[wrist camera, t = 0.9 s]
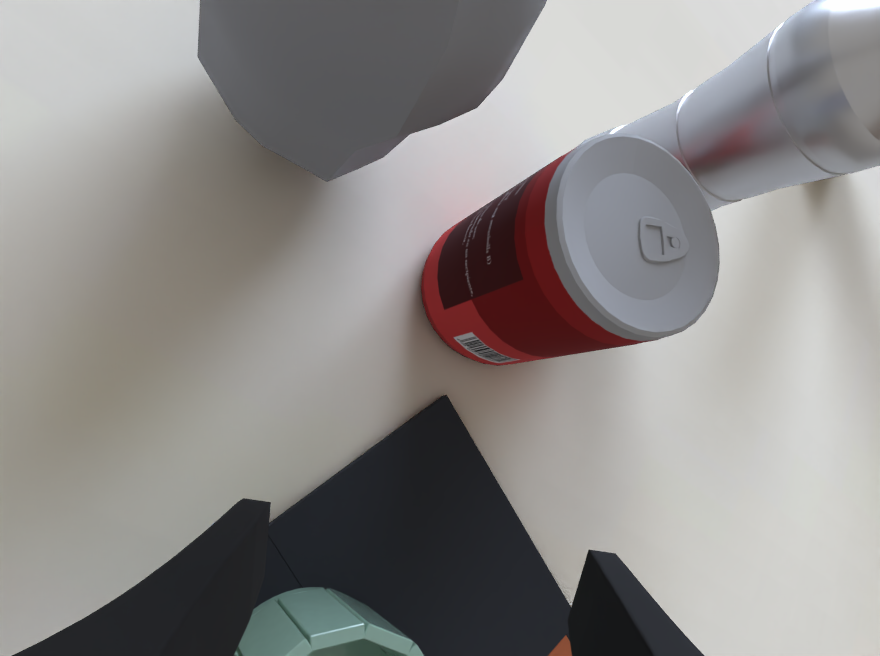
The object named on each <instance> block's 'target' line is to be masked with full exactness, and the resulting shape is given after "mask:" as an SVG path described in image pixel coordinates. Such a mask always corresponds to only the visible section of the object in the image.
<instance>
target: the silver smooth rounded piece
mask: <svg viewBox="0 0 880 656" xmlns="http://www.w3.org/2000/svg"><path fill="white" fill-rule="evenodd" d="M614 133H626V134H633V135H638V136H640V137H643V138H645V139H648V140H651V141H653V142H654V143H656V144H658V145H659V146H661V147H663V148H664V149H666V150H667V151H668V152H669V153H671V154H672V155H673V156H674V157H675V158H676V159H677V160H679V161H680V162H681V164H682V165H683V166H684V167H685V168H686V169H687V171H688V172H689V173H690V174H691V175H692V177H693V178H694V180H695V181H696V183H697V185H698V186H699V188H700V189H701V191H702V193H703V195H704V197H705V199H706V201H707V203H708V206H709V208H710V210H711V211H713V210H715V209H717V208H719V207H721V206H724V205H728V204H731V203H734V202H737V201H741V200H742V199H747V198H750V197H754V196H757V195H760V194H764V193H767V192H770V191H773V190H777V189H780V188H784V187H789V186H794V185H798V184H803V183H808V182H812V181H817V180H822V179H827V178H831V177H836V176H841V175H845V174H848V173H850V174H851V173H855V172H858V171H862V170H865V169H869V168H872V167H876V166H880V0H815V1H812V2H811V3H809V4H808V5H807V6H805V7H804V8H802V9H801V10H799V11H798V12H796V13H795V14H794V15H792V16H791V17H789V18H788V19H787V20H786V21H785V22H784V23H782V24H781V25H779V26H778V27H777V28H776V29H774V30H773V31H772V32H771V33H769V34H768V35H767V36H766V37H764V38H763V39H762V40H761V41H759V42H758V43H757V44H756V45H754V46H753V47H752V48H750V49H749V50H748V51H747V52H745V53H744V54H743V55H742V56H740V57H739V58H738V59H737V60H735V61H734V62H733V63H732V64H730V65H729V66H728V67H726V68H725V69H723V70H722V71H720V72H719V73H717V74H716V75H714V76H713V77H711V78H710V79H708V80H707V81H705V82H704V83H702V84H701V85H699V86H698V87H697V88H696V89H695V90H693V91H691V92H689V93H687V94H686V95H684V96H683V97H681V98H680V99H678V100H677V101H675V102H674V103H672V104H670V105H668V106H666V107H663V108H661V109H659V110H657V111H655V112H653V113H651V114H649V115H647V116H645V117H642V118H640V119H638V120H636V121H634V122H632V123H630V124H628V125H625V126H620V127H616V128H613V129H610V130H607V131H605V132H603V133H600V134H598V135H595V136H593V137H591V138H589V139H586V140H584V141H583V142H582V143H581V144H584V143H586V142H589V141H590V140H592V139H595V138H598V137H600V136H603V135H605V134H614ZM581 144H580V145H581Z"/></svg>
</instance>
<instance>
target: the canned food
mask: <svg viewBox="0 0 880 656" xmlns="http://www.w3.org/2000/svg"><path fill="white" fill-rule="evenodd" d="M719 264H720V263H719V243H718V237H717V231H716V226H715V223H714V220H713V217H712V214H711V210H710V208H709V206H708V203H707V201H706V199H705V197H704V195H703V193H702V191H701V189H700V188H699V186H698V185H697V183H696V181H695V180H694V178H693V177H692V175H691V174H690V173H689V172H688V171H687V169H686V168H685V167H684V166H683V165H682V164H681V162H680V161H679V160H677V159H676V158H675V157H674V156H673V155H672V154H671V153H669V152H668V151H667V150H666V149H664V148H663V147H661V146H659V145H658V144H656V143H654V142H653V141H651V140H648V139H645V138H643V137H640V136H638V135H633V134H626V133H614V134H605V135H603V136H600V137H598V138H595V139H592V140H590V141H589V142H586V143H584V144H581V145H579V146H578V147H576V148H575V149H573V150H571V151H570V152H568V153H567V154H565V155H563V156H561V157H559V158H558V159H556V160H555V161H553V162H552V163H550V164H548V165H547V166H545V167H544V168H542V169H541V170H539V171H538V172H536V173H535V174H533V175H531V176H530V177H528V178H527V179H525V180H524V181H522V182H521V183H519V184H518V185H516V186H514V187H513V188H511V189H510V190H508V191H507V192H505V193H504V194H502V195H501V196H499V197H497V198H496V199H494V200H493V201H491V202H490V203H488V204H487V205H485V206H484V207H482V208H480V209H479V210H477V211H476V212H474V213H473V214H471V215H470V216H468V217H467V218H465V219H463V220H462V221H460V222H459V223H457V224H456V225H454V226H453V227H452V228H450V229H449V230H447V231H446V232H445V233H444V234H443V235H442V236H441V237H440V238H439V239H438V241H437V242H436V243H435V245H434V246H433V248H432V250H431V252H430V254H429V256H428V258H427V260H426V263H425V266H424V270H423V273H422V284H421V291H422V300H423V305H424V308H425V311H426V314H427V317H428V319H429V321H430V323H431V325H432V327H433V329H434V330H435V331H436V333H437V334H438V335H439V336H440V338H441V339H442V340H443V341H444V342H445V343H446V344H447V345H448V346H450V347H451V348H452V349H453V350H455V351H456V352H458V353H460V354H461V355H463V356H465V357H467V358H470V359H472V360H475V361H478V362H481V363H484V364H491V365H508V364H515V363H522V362H528V361H534V360H540V359H547V358H553V357H559V356H565V355H571V354H578V353H584V352H590V351H596V350H603V349H609V348H615V347H621V346H627V345H634V344H638V343H642V342H648V341H654V340H658V339H661V338H664V337H667V336H671V335H674V334H676V333H679V332H682V331H684V330H685V329H687V328H688V327H690V326H691V325H692V324H694V323H695V322H696V321H697V320H698V319H699V318H700V316H701V315H702V314H703V313H704V312H705V310H706V308H707V307H708V305H709V303H710V301H711V299H712V297H713V294H714V291H715V287H716V284H717V280H718V272H719Z"/></svg>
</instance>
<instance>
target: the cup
mask: <svg viewBox="0 0 880 656" xmlns="http://www.w3.org/2000/svg"><path fill="white" fill-rule="evenodd" d="M234 656H424V655H423V653H422V651H421V650H420V648H419V647H418V645H417V644H416V643H415V642H413V641H412V640H411V639H410V638H409V637H407V636H406V635H405V634H403V633H402V632H401V631H400V630H398V629H397V628H396V627H394V626H393V625H392V624H391V623H389V622H388V621H387V620H385V619H384V618H383V617H382V616H380V615H379V614H378V613H376V612H375V611H374V610H373V609H371V608H370V607H369V606H367V605H366V604H365V603H363V602H360V601H358V600H355V599H354V598H352V597H350V596H348V595H347V594H345V593H343V592H340V591H336V590H333V589H329V588H322V587H307V588H299V589H295V590H291V591H287V592H284V593H282V594H279V595H277V596H274V597H272V598H271V599H269V600H267V601H265V602H263V603H262V604H260V605H259V606H257V607H256V608H255V609H253V612H252V615H251V618H250V621H249V623H248V625H247V628H246V630H245V632H244V634H243V636H242V638H241V641H240V643H239V645H238V647H237V649H236V651H235V654H234Z"/></svg>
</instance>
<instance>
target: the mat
mask: <svg viewBox="0 0 880 656" xmlns="http://www.w3.org/2000/svg"><path fill="white" fill-rule="evenodd" d="M307 587H322V588H329V589H333V590H336V591H340V592H343V593H345V594H347V595H348V596H350V597H352V598H354V599H355V600H358V601H360V602H363V603H365V604H366V605H367V606H369V607H370V608H371V609H373V610H374V611H375V612H376V613H378V614H379V615H380V616H382V617H383V618H384V619H385V620H387V621H388V622H389V623H391V624H392V625H393V626H394V627H396V628H397V629H398V630H400V631H401V632H402V633H403V634H405V635H406V636H407V637H409V638H410V639H411V640H412V641H413V642H415V643H416V644H417V645H418V647H419V648H420V650H421V651H422V653H423V655H424V656H572V652H571V645H570V637H569V628H568V617H569V614H570V610H571V607H570V605H569V603H568V601H567V600H566V598H565V596H564V595H563V593H562V591H561V590H560V588H559V586H558V584H557V583H556V581H555V579H554V578H553V576H552V574H551V572H550V571H549V569H548V567H547V566H546V564H545V562H544V561H543V559H542V557H541V555H540V554H539V552H538V550H537V549H536V547H535V545H534V543H533V542H532V540H531V538H530V537H529V535H528V533H527V532H526V530H525V528H524V526H523V525H522V523H521V521H520V520H519V518H518V516H517V514H516V513H515V511H514V509H513V508H512V506H511V504H510V503H509V501H508V499H507V497H506V496H505V494H504V492H503V491H502V489H501V487H500V485H499V484H498V482H497V480H496V479H495V477H494V475H493V474H492V472H491V470H490V468H489V467H488V465H487V463H486V462H485V460H484V458H483V456H482V455H481V453H480V451H479V450H478V448H477V446H476V445H475V443H474V441H473V439H472V438H471V436H470V434H469V433H468V431H467V429H466V427H465V426H464V424H463V422H462V421H461V419H460V417H459V416H458V414H457V412H456V410H455V409H454V407H453V405H452V404H451V402H450V400H449V398H448V397H447V395H444V396H442V397H440V398H439V399H438V400H436V401H435V402H433V403H432V404H431V405H429V406H428V407H427V408H425V409H424V410H423V411H421V412H420V413H418V414H417V415H416V416H414V417H413V418H412V419H410V420H409V421H408V422H406V423H405V424H403V425H402V426H401V427H399V428H398V429H397V430H395V431H394V432H393V433H391V434H390V435H389V436H387V437H386V438H384V439H383V440H382V441H380V442H379V443H378V444H376V445H375V446H374V447H372V448H371V449H369V450H368V451H367V452H365V453H364V454H363V455H361V456H360V457H359V458H357V459H356V460H355V461H353V462H352V463H350V464H349V465H348V466H346V467H345V468H344V469H342V470H341V471H340V472H338V473H337V474H335V475H334V476H333V477H331V478H330V479H329V480H327V481H326V482H325V483H323V484H322V485H320V486H319V487H318V488H316V489H315V490H314V491H312V492H311V493H310V494H308V495H307V496H306V497H304V498H303V499H301V500H300V501H299V502H297V503H296V504H295V505H293V506H292V507H291V508H289V509H288V510H286V511H285V512H284V513H282V514H281V515H280V516H278V517H277V518H276V519H274V520H273V521H271V522H270V523H269V529H268V541H267V553H266V564H265V576H264V579H263V583H262V586H261V589H260V592H259V595H258V598H257V601H256V604H255V607H254V609H255V608H256V607H257V606H259V605H260V604H262V603H263V602H265V601H267V600H269V599H271V598H272V597H274V596H277V595H279V594H282V593H284V592H287V591H291V590H295V589H299V588H307Z"/></svg>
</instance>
